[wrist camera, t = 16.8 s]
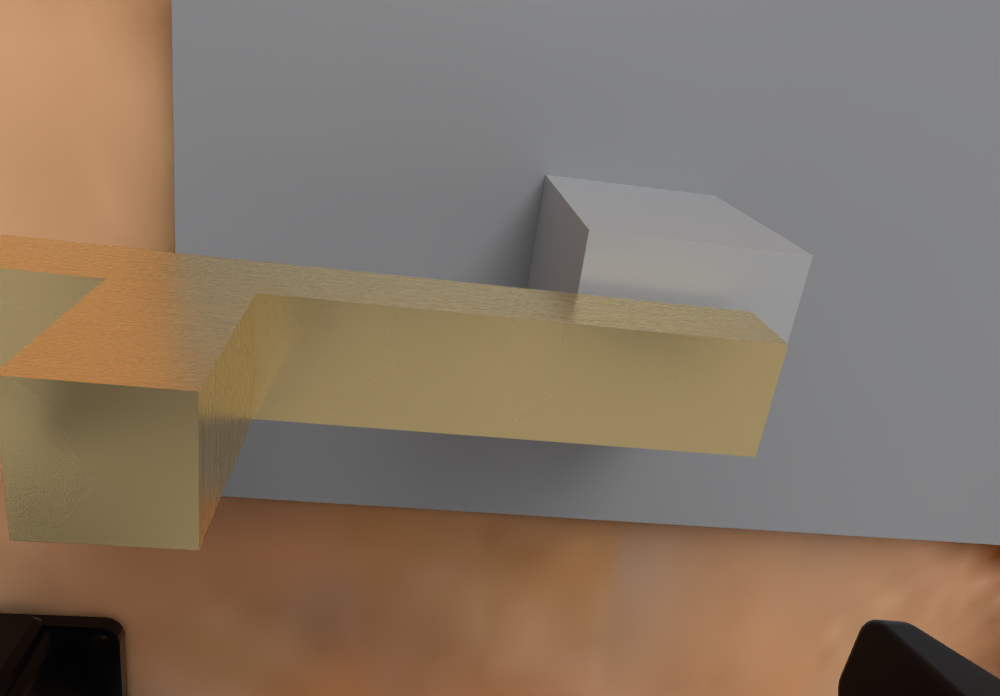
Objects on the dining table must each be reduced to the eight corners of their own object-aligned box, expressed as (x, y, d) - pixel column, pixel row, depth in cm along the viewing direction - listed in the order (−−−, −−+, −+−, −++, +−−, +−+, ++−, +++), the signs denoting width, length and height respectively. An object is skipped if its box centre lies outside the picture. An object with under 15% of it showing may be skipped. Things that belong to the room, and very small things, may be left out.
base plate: (1008, 526, 24) (1181, 676, 19) (189, 472, 21) (108, 635, 16) (1224, 38, 19) (1549, 48, 14) (183, -135, 16) (58, -215, 10)
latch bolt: (723, 414, 14) (852, 585, 10) (14, 356, 13) (-192, 529, 8) (750, 311, 14) (904, 448, 9) (2, 234, 12) (-229, 357, 8)
